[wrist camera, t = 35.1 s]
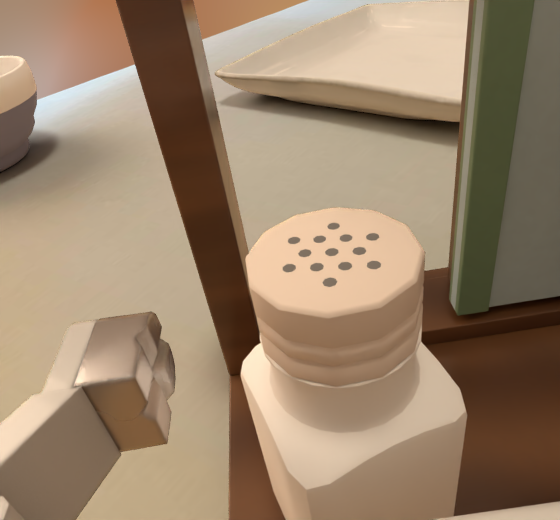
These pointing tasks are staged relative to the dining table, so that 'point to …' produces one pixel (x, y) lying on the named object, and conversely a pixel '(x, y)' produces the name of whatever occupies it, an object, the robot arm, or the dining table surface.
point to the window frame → (436, 305)
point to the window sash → (509, 159)
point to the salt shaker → (349, 372)
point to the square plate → (368, 61)
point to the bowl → (15, 109)
